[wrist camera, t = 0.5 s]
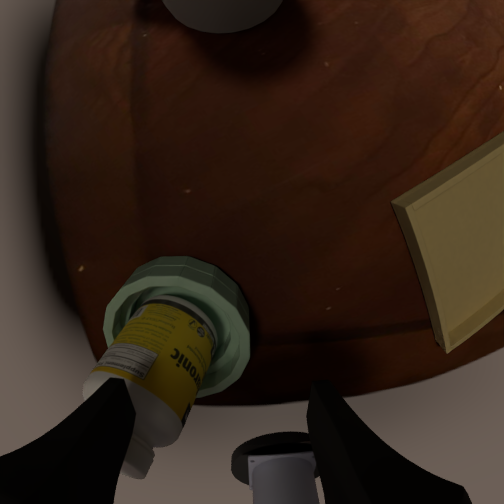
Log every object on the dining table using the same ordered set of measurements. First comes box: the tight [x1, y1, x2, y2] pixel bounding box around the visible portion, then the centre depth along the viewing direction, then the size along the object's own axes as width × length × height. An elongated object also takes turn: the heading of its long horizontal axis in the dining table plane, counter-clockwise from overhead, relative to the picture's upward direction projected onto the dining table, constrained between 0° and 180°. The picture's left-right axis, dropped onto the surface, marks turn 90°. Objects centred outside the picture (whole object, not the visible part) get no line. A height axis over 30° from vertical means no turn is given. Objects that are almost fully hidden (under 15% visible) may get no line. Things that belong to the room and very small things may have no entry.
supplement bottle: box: [83, 295, 218, 479], centre depth 14 cm, size 5×5×10 cm
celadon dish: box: [103, 256, 250, 398], centre depth 18 cm, size 9×9×4 cm
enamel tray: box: [391, 131, 504, 353], centre depth 17 cm, size 17×13×2 cm
